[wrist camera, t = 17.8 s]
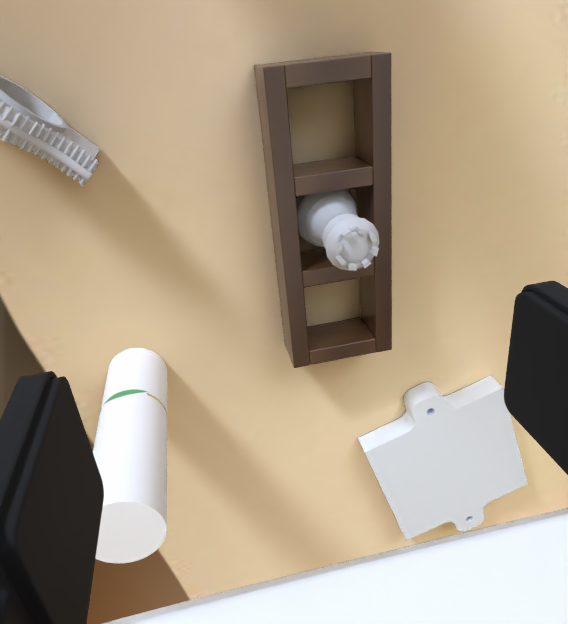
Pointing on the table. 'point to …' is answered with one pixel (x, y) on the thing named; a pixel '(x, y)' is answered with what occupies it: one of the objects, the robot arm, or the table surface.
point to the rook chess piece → (337, 228)
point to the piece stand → (324, 178)
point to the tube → (133, 457)
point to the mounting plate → (446, 456)
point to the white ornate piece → (44, 132)
